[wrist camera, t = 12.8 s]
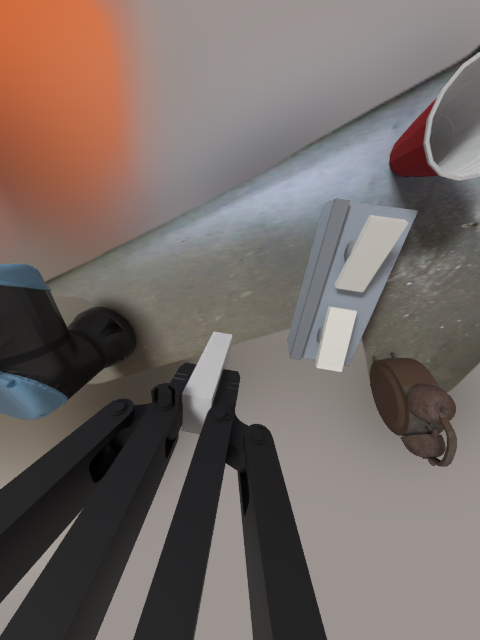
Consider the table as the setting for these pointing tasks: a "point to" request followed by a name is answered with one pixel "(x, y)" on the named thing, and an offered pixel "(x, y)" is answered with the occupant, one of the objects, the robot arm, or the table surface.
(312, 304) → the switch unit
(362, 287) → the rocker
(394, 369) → the alarm clock
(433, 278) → the table surface
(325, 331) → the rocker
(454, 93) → the plastic cup
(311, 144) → the table surface
